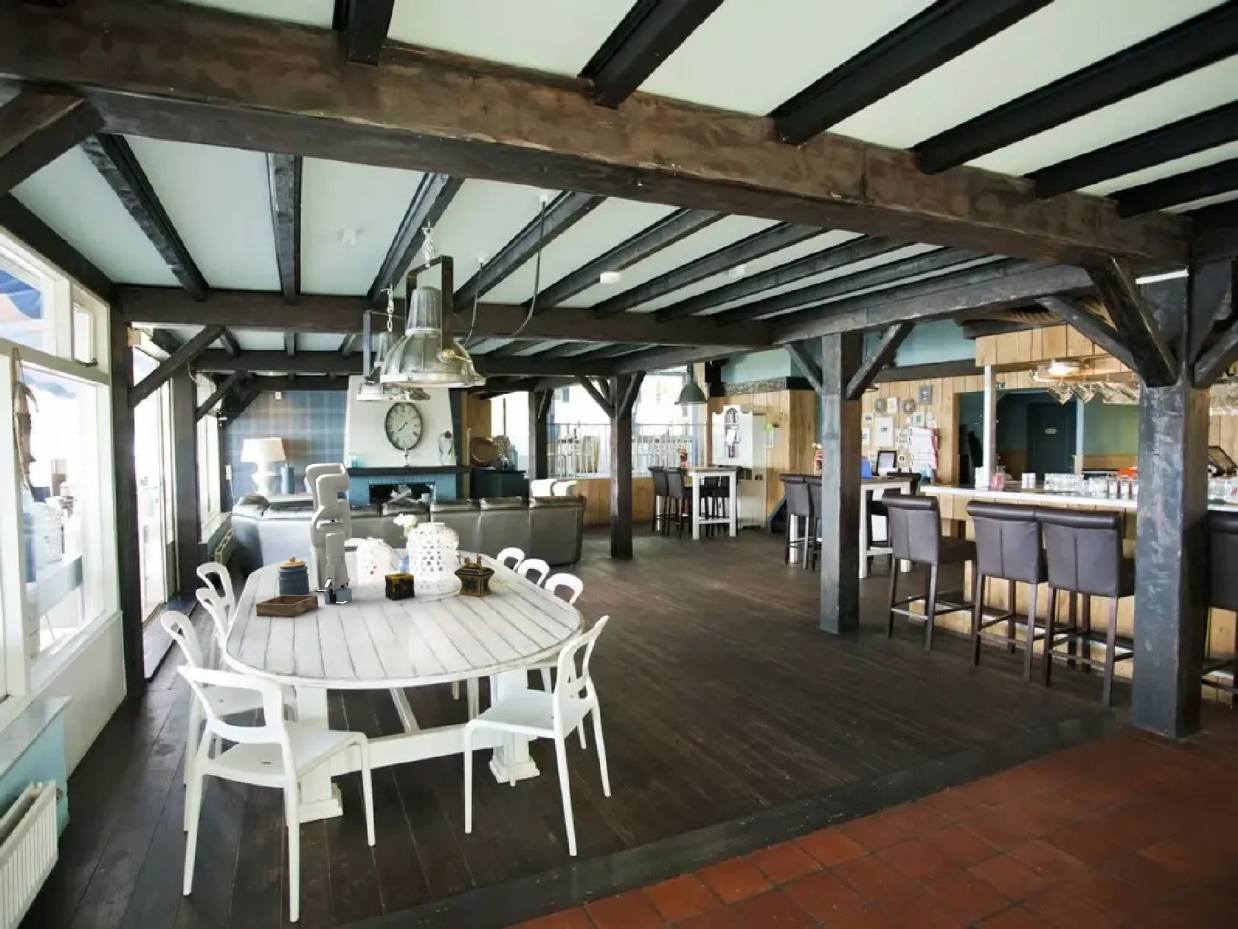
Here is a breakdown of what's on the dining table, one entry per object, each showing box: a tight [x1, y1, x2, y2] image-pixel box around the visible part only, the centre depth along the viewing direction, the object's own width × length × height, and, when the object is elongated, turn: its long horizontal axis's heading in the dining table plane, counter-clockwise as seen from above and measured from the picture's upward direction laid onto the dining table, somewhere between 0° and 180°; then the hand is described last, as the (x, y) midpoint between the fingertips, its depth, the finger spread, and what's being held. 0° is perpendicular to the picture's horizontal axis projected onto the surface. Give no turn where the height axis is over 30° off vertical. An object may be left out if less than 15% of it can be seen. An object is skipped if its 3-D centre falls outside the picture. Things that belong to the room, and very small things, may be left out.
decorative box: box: [453, 548, 495, 597], centre depth 322 cm, size 20×10×20 cm, turn 60°
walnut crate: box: [255, 594, 319, 618], centre depth 301 cm, size 16×18×5 cm
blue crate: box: [323, 587, 353, 605], centre depth 315 cm, size 6×9×6 cm
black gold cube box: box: [384, 572, 415, 602], centre depth 320 cm, size 10×10×10 cm
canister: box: [277, 556, 310, 596], centre depth 333 cm, size 13×13×18 cm
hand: (338, 600), depth 315 cm, fingers closed on blue crate, 6 cm apart
